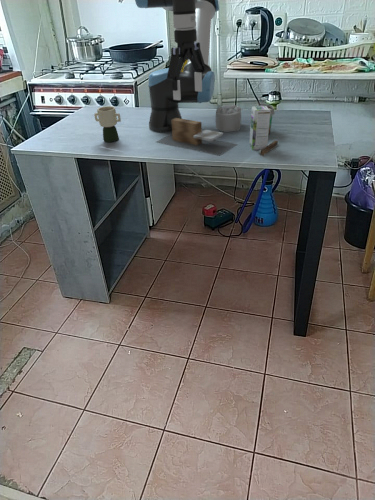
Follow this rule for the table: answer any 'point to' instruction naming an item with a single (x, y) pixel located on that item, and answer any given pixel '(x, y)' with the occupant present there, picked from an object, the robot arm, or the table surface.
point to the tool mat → (200, 145)
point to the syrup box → (259, 127)
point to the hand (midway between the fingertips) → (188, 95)
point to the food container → (270, 114)
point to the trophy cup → (108, 122)
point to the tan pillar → (191, 132)
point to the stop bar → (268, 147)
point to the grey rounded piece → (228, 118)
